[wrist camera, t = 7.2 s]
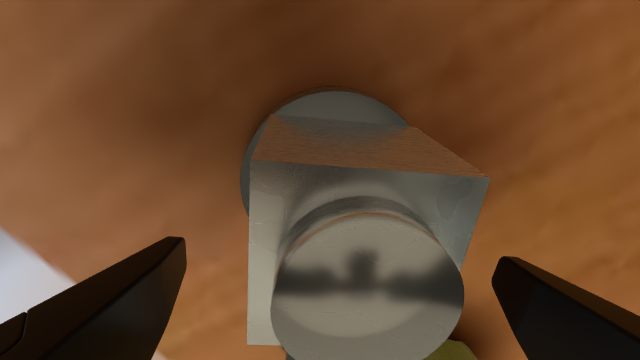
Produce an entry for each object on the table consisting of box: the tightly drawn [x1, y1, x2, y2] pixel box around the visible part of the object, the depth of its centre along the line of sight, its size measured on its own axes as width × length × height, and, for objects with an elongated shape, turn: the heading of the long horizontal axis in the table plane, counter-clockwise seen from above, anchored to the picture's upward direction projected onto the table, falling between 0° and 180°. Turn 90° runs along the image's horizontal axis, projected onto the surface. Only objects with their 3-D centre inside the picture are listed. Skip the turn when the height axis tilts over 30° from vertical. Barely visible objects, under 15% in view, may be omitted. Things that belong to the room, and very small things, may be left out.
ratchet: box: [240, 86, 409, 360], centre depth 15 cm, size 16×8×5 cm, turn 173°
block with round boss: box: [247, 114, 491, 360], centre depth 10 cm, size 6×6×7 cm
